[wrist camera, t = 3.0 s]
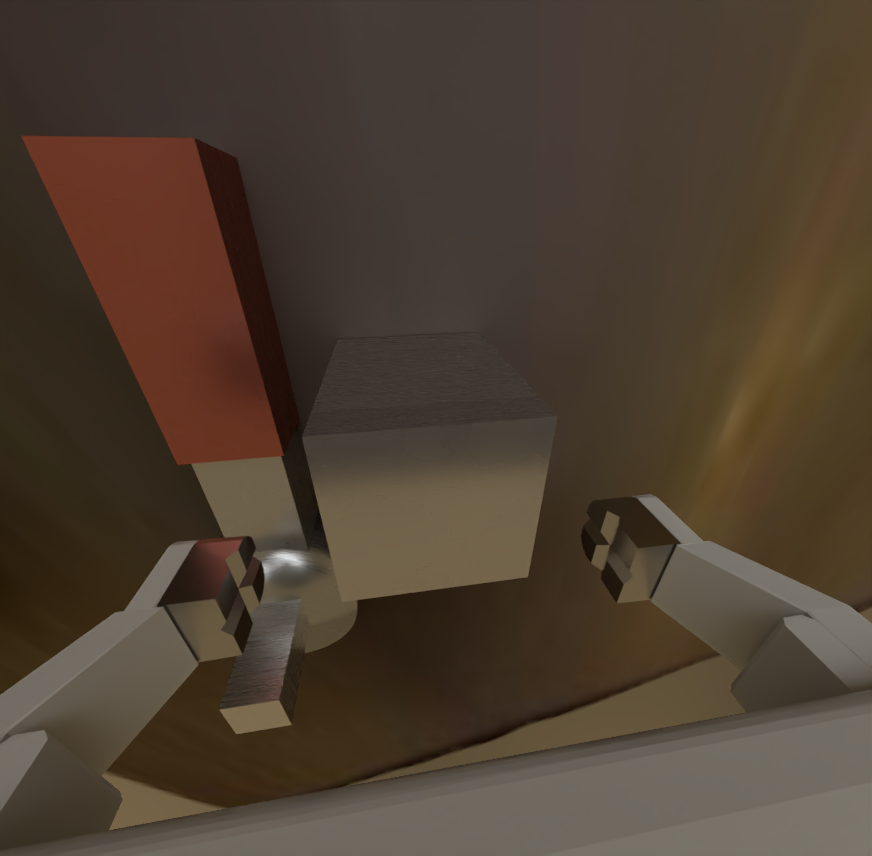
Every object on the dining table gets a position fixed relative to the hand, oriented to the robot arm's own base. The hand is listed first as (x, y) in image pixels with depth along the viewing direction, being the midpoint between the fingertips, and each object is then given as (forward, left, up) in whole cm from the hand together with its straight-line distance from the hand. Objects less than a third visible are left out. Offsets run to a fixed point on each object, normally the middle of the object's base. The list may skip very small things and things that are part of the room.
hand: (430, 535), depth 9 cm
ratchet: (+1, -6, -6) cm, 9 cm away
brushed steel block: (-1, 0, -6) cm, 6 cm away
